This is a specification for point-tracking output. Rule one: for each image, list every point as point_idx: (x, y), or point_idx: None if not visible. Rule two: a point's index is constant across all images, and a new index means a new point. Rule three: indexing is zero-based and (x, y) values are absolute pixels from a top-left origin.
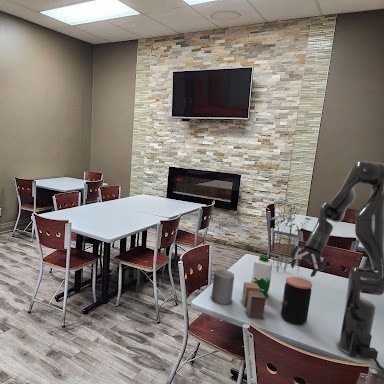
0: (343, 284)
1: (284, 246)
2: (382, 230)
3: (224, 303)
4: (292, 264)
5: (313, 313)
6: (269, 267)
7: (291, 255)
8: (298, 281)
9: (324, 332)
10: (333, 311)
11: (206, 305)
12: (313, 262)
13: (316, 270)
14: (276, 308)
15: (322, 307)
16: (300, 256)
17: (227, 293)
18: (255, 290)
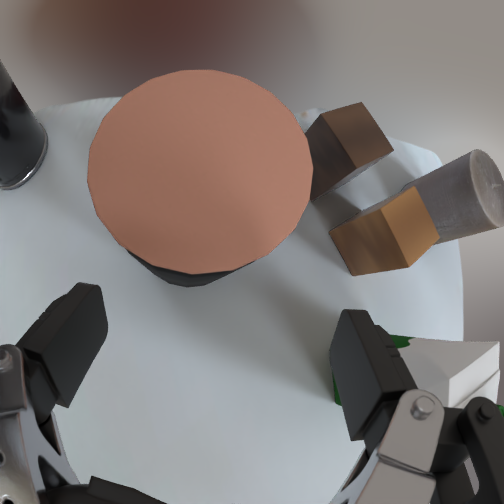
0: None
1: None
2: None
3: (404, 186)
4: (372, 323)
5: (129, 359)
6: (440, 374)
7: (487, 404)
8: (206, 152)
9: (76, 209)
10: (77, 431)
11: (420, 152)
12: (32, 443)
13: (20, 346)
14: (270, 288)
15: (117, 442)
16: (382, 479)
17: (426, 178)
18: (383, 204)
